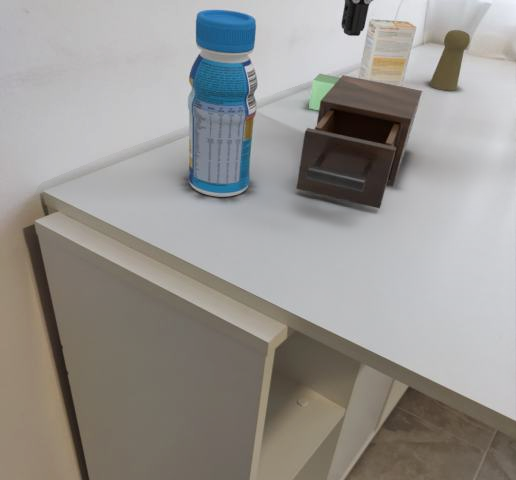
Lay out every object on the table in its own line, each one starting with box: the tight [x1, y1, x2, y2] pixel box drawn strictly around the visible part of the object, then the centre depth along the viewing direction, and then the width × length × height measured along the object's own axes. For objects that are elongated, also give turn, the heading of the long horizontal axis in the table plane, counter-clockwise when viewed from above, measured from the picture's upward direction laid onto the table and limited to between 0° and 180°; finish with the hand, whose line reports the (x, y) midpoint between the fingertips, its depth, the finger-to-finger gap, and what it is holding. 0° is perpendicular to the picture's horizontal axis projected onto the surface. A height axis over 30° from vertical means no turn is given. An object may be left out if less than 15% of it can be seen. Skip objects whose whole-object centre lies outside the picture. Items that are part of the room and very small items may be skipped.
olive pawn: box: [429, 29, 471, 92], centre depth 117 cm, size 6×6×11 cm
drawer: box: [296, 108, 401, 209], centre depth 71 cm, size 19×11×8 cm, turn 161°
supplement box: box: [357, 18, 417, 87], centre depth 107 cm, size 8×5×13 cm, turn 100°
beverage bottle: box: [187, 9, 258, 198], centre depth 66 cm, size 8×8×20 cm
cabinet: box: [316, 74, 423, 187], centre depth 81 cm, size 15×13×10 cm
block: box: [308, 73, 341, 112], centre depth 100 cm, size 5×5×5 cm
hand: (351, 34), depth 73 cm, fingers closed
